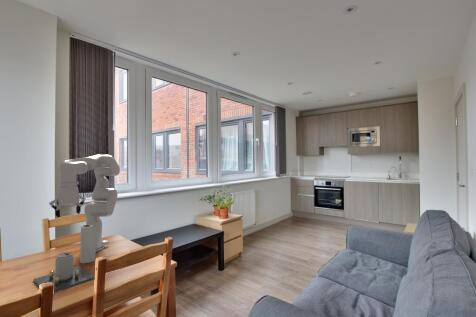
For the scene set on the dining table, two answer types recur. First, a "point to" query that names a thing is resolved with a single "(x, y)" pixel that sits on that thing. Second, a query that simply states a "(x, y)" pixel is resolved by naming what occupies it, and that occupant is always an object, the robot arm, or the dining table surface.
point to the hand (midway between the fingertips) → (68, 215)
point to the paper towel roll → (88, 244)
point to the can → (64, 266)
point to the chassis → (76, 279)
